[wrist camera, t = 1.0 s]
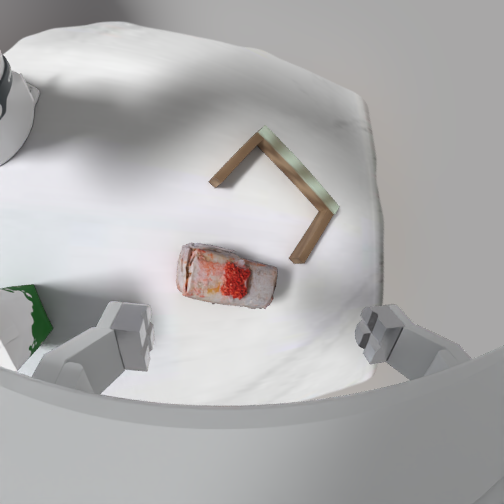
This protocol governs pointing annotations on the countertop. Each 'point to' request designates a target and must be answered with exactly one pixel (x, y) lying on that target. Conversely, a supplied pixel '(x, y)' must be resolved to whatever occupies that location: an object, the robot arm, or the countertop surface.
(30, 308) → the milk carton
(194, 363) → the countertop surface
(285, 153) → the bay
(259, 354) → the countertop surface
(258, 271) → the food item
